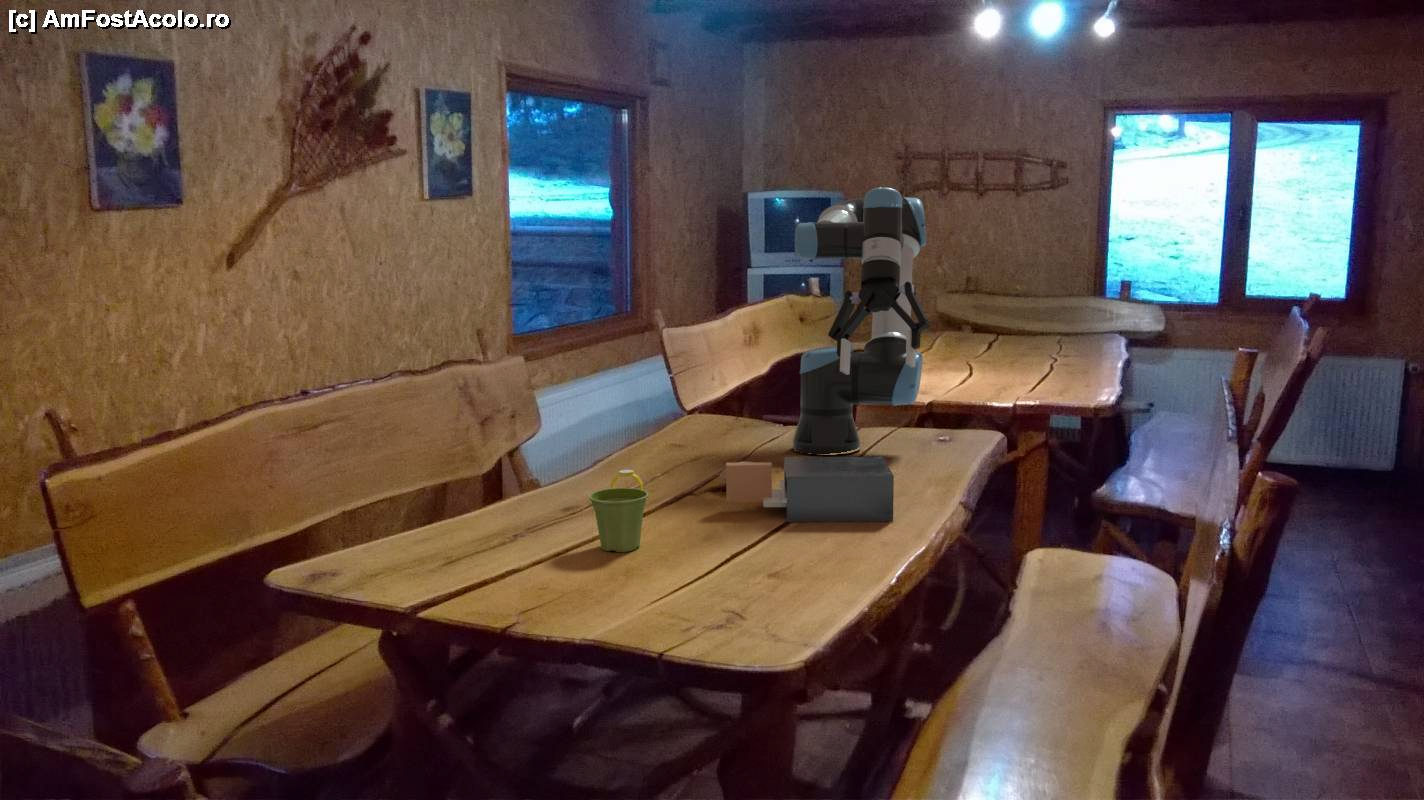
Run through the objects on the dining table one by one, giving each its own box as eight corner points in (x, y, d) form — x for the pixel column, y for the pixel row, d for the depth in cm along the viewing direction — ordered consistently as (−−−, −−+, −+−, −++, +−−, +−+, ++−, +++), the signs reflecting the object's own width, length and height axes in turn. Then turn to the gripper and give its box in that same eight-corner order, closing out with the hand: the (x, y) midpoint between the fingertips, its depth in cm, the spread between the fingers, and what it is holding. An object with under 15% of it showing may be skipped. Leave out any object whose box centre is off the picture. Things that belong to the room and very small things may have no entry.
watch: (610, 504, 208) (607, 473, 207) (615, 501, 210) (612, 470, 210) (641, 504, 206) (638, 472, 205) (646, 500, 209) (643, 469, 208)
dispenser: (780, 499, 208) (779, 457, 207) (882, 499, 208) (882, 456, 206) (782, 522, 193) (782, 476, 191) (893, 521, 192) (893, 475, 191)
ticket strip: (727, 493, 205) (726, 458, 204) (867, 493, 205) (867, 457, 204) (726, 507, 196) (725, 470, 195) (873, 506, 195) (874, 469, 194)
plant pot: (603, 559, 172) (602, 504, 171) (581, 544, 181) (579, 491, 179) (659, 550, 177) (658, 496, 175) (635, 536, 185) (634, 485, 184)
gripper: (814, 267, 223) (809, 370, 217) (933, 247, 210) (931, 356, 204) (832, 280, 229) (827, 380, 223) (948, 262, 216) (946, 368, 210)
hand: (876, 369), depth 214 cm, fingers open, 13 cm apart
